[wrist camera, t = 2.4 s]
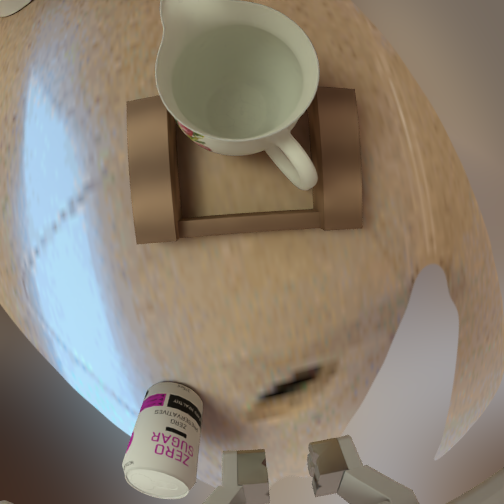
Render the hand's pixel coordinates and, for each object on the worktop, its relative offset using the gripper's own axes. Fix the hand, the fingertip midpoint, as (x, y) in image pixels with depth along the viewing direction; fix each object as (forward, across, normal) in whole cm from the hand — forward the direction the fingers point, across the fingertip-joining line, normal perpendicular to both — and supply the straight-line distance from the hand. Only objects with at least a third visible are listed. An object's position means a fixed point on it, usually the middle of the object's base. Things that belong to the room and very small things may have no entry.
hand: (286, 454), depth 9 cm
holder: (+24, 0, -11) cm, 26 cm away
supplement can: (+24, +12, +19) cm, 33 cm away
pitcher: (+24, 0, -16) cm, 29 cm away
